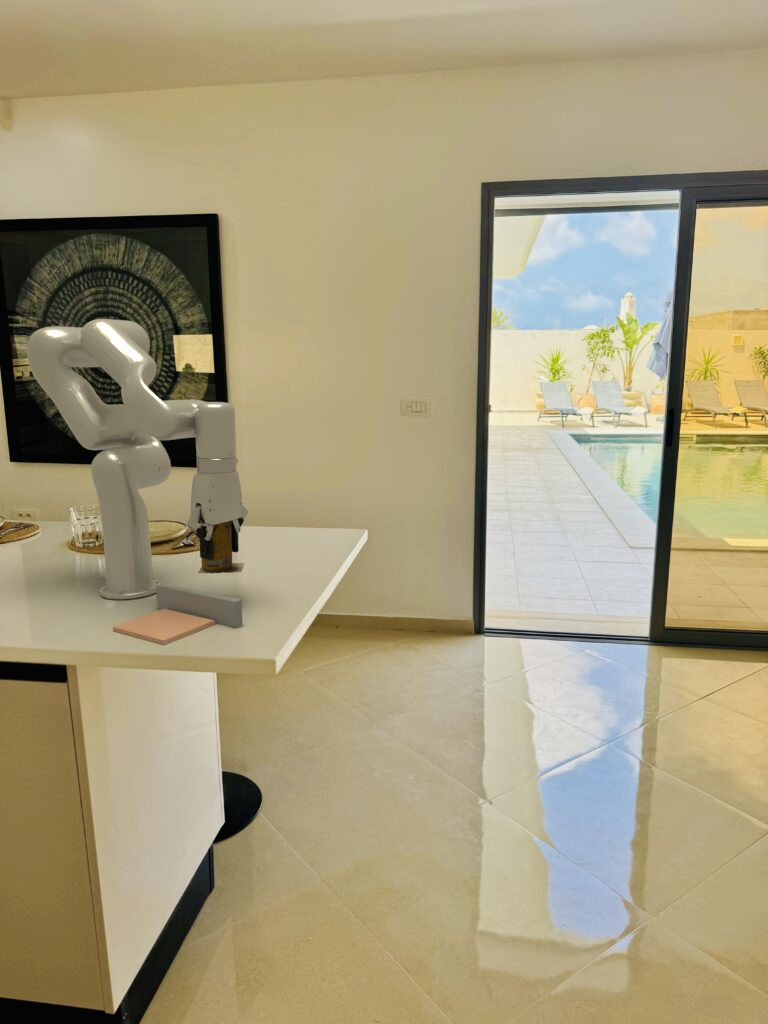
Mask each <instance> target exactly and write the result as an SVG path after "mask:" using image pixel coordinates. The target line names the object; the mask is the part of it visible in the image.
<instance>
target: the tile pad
mask: <svg viewBox="0 0 768 1024" xmlns="http://www.w3.org/2000/svg"><path fill="white" fill-rule="evenodd" d="M214 625H216V623H215V620H210V619H206V618H202V617H198V616H193V615H189V614H185V613H181V612H177V611H172V610H168V609H162V610H160V609H158V610H156V611H154V612H152V613H148V614H146V615H142V616H140V617H137V618H135V619H132V620H128V621H125V622H122V623H120V624H117V625H114V626H112V630H113V632H117V633H120V634H123V635H126V636H131V637H134V638H138V639H142V640H145V641H149V642H153V643H156V644H160V645H162V646H163V645H164V646H166V645H168V644H170V643H172V642H175V641H177V640H180V639H183V638H185V637H188V636H190V635H192V634H195V633H197V632H200V631H202V630H204V629H207V628H211V627H213V626H214Z"/></svg>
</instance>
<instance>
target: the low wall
mask: <svg viewBox="0 0 768 1024" xmlns="http://www.w3.org/2000/svg"><path fill="white" fill-rule="evenodd" d="M156 600H157V601H156V602H157V603H156V604H157V610H162V609H168V610H172V611H177V612H181V613H185V614H189V615H193V616H198V617H202V618H206V619H210V620H215V624H219V625H223V626H227V627H232V628H235V627H236V628H237V629H238V628H240V627H242V626H243V625H244V624H243V609H242V608H243V605H242V599H240V598H235V597H234V598H233V597H229V596H224V595H220V594H216V593H209V592H205V591H201V590H196V589H192V588H191V589H190V588H186V587H181V586H176V585H171V584H166V583H161V584H158V585H156Z"/></svg>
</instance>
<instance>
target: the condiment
mask: <svg viewBox="0 0 768 1024" xmlns="http://www.w3.org/2000/svg"><path fill="white" fill-rule="evenodd" d="M206 528H207V527H205V529H204V531H205V532H206ZM210 539H211V540H213V551H214V558H213V559H212V560H208V559H204V558H201V567H200V568H199V570H198V571H197V574H222V573H223V574H224V573H225V574H227V573H228V574H232V573H233V574H234V573H242V572H243V569H244V566H245V563H244V562H233V552H232V532H231V524H230V523H229V522H224V523H221V524H218V525H214V527H213V531H212V534H211V538H210Z"/></svg>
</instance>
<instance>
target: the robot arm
mask: <svg viewBox="0 0 768 1024" xmlns="http://www.w3.org/2000/svg"><path fill="white" fill-rule="evenodd" d="M150 343H151V342H150V337H149V335H148V333H147V331H146V329H144V327H142V326H141V325H140V324H139V323H138V322H134V321H132V320H124V319H111V318H96V319H93V320H91V321H89V322H86V323H85V324H84V325H83V326H82V327H80V326H79V327H77V326H76V327H75V326H62V325H57V326H56V325H54V326H46V327H41V328H39V329H37V330H35V331H34V332H33V333H32V334H31V335H30V337H29V339H28V342H27V347H26V350H27V351H26V355H27V361H28V365H29V368H30V370H31V371H30V372H31V373H32V375H33V377H34V379H35V380H36V382H37V383H38V384H39V386H40V387H41V388H42V390H43V391H44V393H46V395H47V396H48V397H49V398H50V399H51V401H52V402H53V404H54V405H55V407H56V408H57V410H58V412H59V413H60V415H61V416H62V418H63V420H64V421H65V423H66V424H67V426H68V428H69V430H70V432H72V434H73V435H74V437H75V439H76V440H77V442H78V443H79V444H80V445H81V446H82V448H85V449H86V450H91V451H100V452H98V453H97V454H96V456H95V457H94V458H93V460H92V461H91V466H90V471H91V472H90V473H91V478H92V481H93V485H94V488H95V490H96V494H97V500H98V503H99V504H98V505H99V512H100V513H99V514H100V521H101V522H100V523H101V530H102V532H101V533H102V539H103V540H102V541H103V550H104V551H103V552H104V560H105V570H104V571H103V572H100V574H99V578H100V579H103V580H105V585H103V586H102V587H101V588H100V590H99V591H100V596H102V597H103V598H105V599H109V600H131V599H138V598H139V599H140V598H143V597H147V596H151V595H153V594H157V592H156V585H158V584H162V582H161V581H159V580H158V579H154V569H153V557H152V547H151V535H150V522H149V515H148V514H149V512H148V507H147V505H146V503H145V501H144V499H143V497H142V496H141V494H140V492H139V490H141V489H145V488H149V487H154V486H158V485H161V484H163V483H164V482H166V481H167V480H168V478H169V476H170V475H171V470H172V464H171V459H170V457H169V454H168V453H167V449H166V448H165V447H164V446H163V444H162V442H161V441H171V440H172V441H173V440H180V439H190V438H195V449H196V450H195V451H196V453H195V454H196V472H197V473H194V474H193V478H192V484H191V495H190V517H189V518H188V520H187V521H186V524H185V525H186V527H187V528H188V529H189V530H191V532H192V533H193V534H194V535H195V537H196V539H199V540H198V541H199V556H200V558H201V559H202V558H204V559H208V560H212V559H213V558H214V551H213V540H211V539H210V538H211V534H212V531H213V527H214V525H218V524H221V523H224V522H229V523H230V524H231V532H232V553H239V547H240V546H239V534H240V532H241V527H242V525H243V524H244V521H245V519H246V517H248V516H247V515H248V514H249V511H248V510H247V508H246V507H245V506H244V505H243V495H242V494H243V493H242V486H241V480H240V476H239V472H238V471H237V464H238V462H239V459H238V457H237V447H236V445H237V444H236V413H235V412H236V411H235V407H234V406H233V404H231V403H229V402H223V401H205V400H201V399H172V400H171V399H170V400H169V399H168V400H163V399H161V398H160V397H159V396H158V395H156V394H155V393H154V392H153V391H152V389H150V388H149V387H148V386H149V385H150V384H151V383H152V381H153V380H154V378H155V376H156V375H157V367H158V366H157V364H156V361H155V360H154V359H153V358H152V356H150V355H149V354H148V353H149V350H150V347H151V346H150ZM72 368H102V370H104V371H105V372H106V374H108V375H109V376H110V377H111V378H112V379H113V380H114V381H115V382H116V383H117V384H118V385H119V386H120V388H121V399H122V403H123V404H120V403H119V404H107V403H105V402H104V401H103V400H101V398H100V397H99V395H98V394H97V393H96V390H95V389H94V387H93V386H92V385H91V384H90V383H89V381H87V379H86V378H84V377H83V376H82V375H80V374H79V373H77V372H76V371H75V370H74V369H72ZM101 450H102V451H101ZM205 527H207V528H206V532H205V531H204V529H205Z"/></svg>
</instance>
